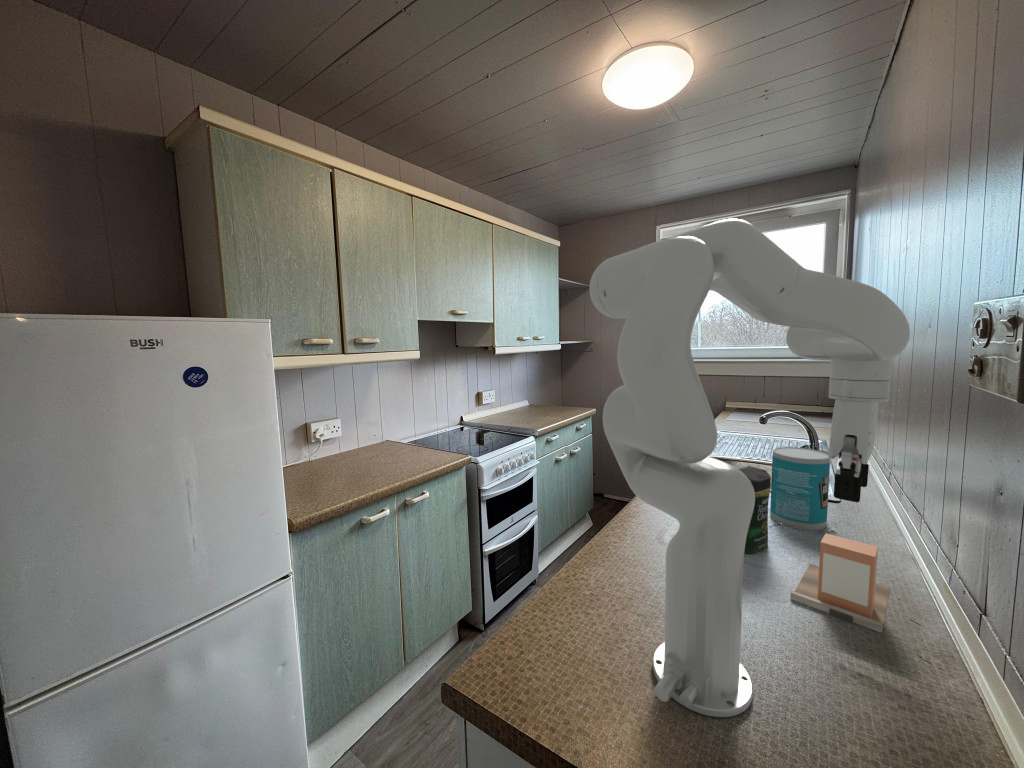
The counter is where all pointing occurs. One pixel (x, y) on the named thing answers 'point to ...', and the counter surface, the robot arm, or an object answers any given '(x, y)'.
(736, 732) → the counter surface
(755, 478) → the coffee jar
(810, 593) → the shelf board
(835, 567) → the salmon upright cuboid
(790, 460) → the food can
